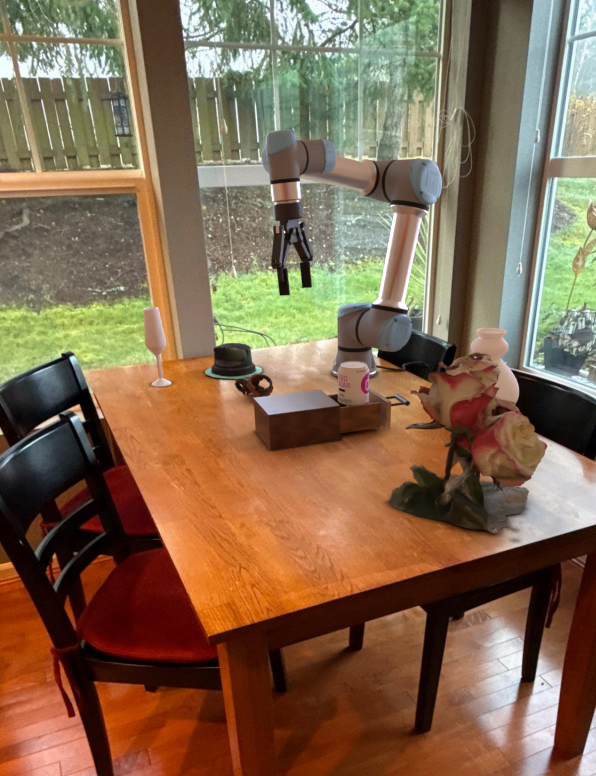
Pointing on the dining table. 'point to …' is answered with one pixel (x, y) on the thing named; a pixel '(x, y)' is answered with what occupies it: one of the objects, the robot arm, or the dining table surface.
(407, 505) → the rose bouquet
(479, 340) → the decorative vase
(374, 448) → the dining table surface
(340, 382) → the supplement can
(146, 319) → the champagne flute
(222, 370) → the dark green rounded hat
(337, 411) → the cabinet
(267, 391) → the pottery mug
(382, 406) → the drawer
